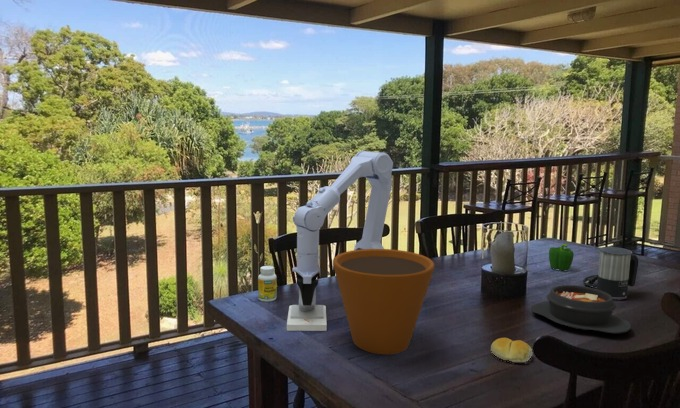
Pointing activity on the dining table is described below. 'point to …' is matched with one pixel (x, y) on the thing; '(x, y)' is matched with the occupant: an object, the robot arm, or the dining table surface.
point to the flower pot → (382, 296)
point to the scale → (306, 319)
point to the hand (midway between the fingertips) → (307, 301)
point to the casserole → (581, 309)
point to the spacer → (306, 307)
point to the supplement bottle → (267, 284)
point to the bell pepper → (561, 257)
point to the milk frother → (614, 271)
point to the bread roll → (511, 350)
